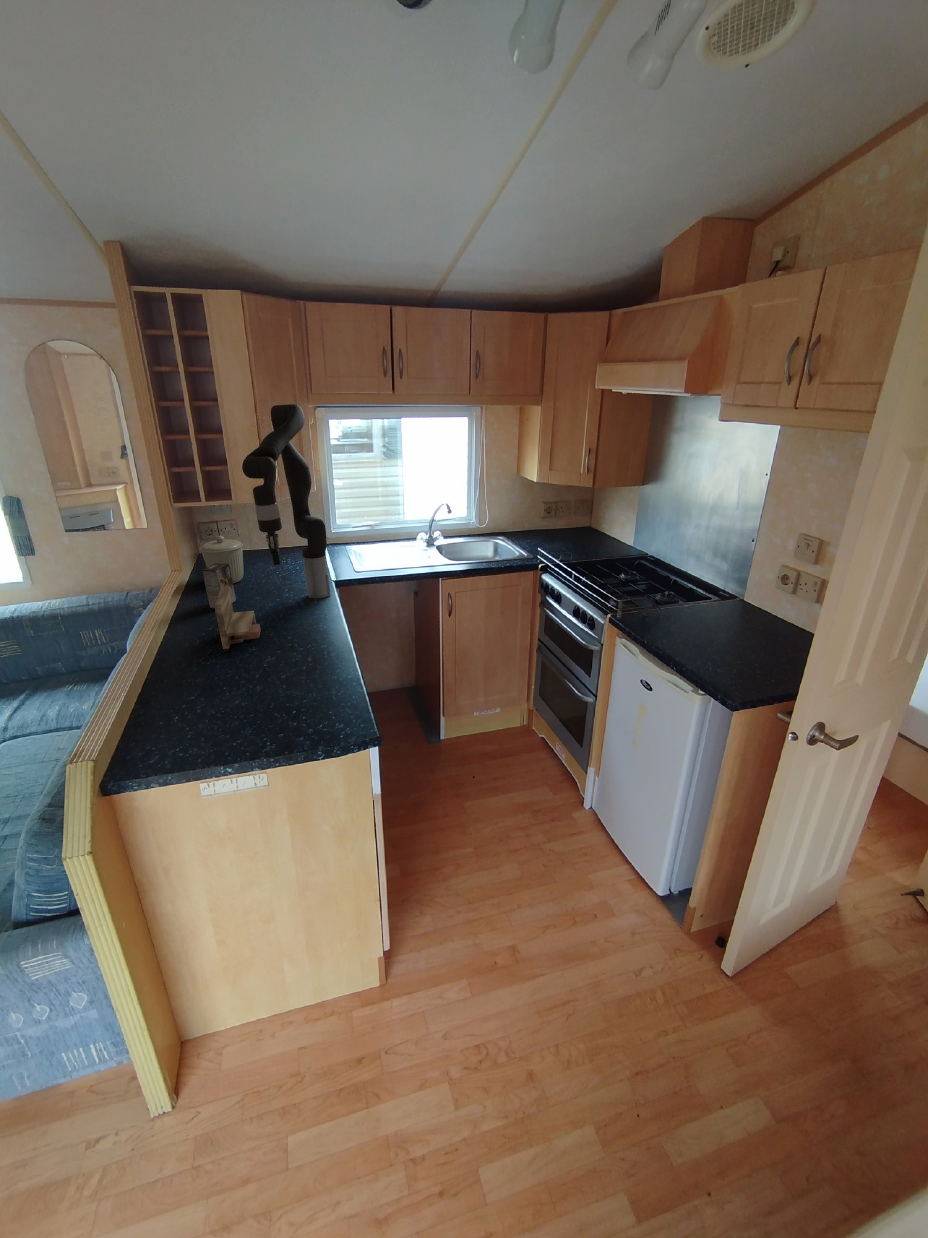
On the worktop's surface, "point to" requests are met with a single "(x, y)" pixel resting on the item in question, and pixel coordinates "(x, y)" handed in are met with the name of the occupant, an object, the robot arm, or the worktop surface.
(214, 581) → the coffee box
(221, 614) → the nook
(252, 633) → the tan cardboard carton
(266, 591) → the worktop surface
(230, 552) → the canister
